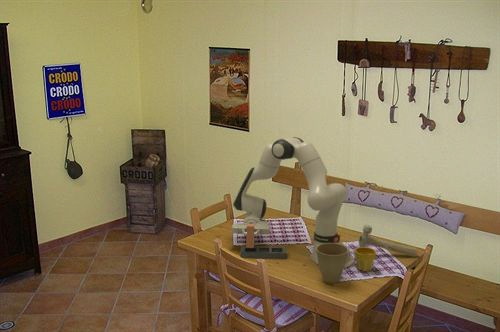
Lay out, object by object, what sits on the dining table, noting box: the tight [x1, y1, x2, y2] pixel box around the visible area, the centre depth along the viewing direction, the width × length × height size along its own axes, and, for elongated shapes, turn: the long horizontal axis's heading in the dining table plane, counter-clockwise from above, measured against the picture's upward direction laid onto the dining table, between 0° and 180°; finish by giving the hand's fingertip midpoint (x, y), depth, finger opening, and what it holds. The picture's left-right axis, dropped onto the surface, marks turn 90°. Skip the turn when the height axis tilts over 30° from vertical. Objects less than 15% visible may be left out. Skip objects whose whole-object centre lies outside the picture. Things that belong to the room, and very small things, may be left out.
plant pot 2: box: [354, 246, 377, 272], centre depth 271 cm, size 10×10×10 cm
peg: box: [245, 224, 255, 248], centre depth 284 cm, size 4×4×12 cm
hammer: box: [358, 224, 418, 258], centre depth 287 cm, size 16×5×30 cm
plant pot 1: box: [316, 243, 349, 284], centre depth 258 cm, size 15×15×16 cm
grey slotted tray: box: [240, 245, 288, 260], centre depth 286 cm, size 24×8×3 cm, turn 88°
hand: (250, 234), depth 283 cm, fingers closed on peg, 4 cm apart
